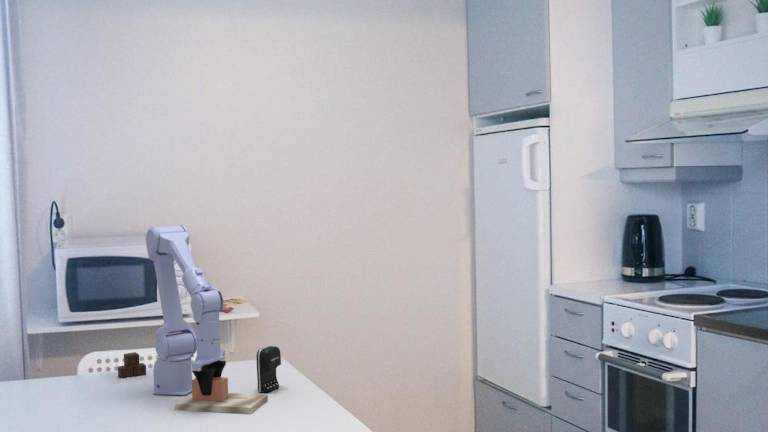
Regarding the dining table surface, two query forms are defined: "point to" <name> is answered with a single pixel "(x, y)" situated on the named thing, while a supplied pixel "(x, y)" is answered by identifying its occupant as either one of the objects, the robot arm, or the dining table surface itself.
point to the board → (224, 404)
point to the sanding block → (217, 392)
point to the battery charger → (268, 368)
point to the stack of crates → (131, 366)
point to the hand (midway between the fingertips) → (210, 392)
